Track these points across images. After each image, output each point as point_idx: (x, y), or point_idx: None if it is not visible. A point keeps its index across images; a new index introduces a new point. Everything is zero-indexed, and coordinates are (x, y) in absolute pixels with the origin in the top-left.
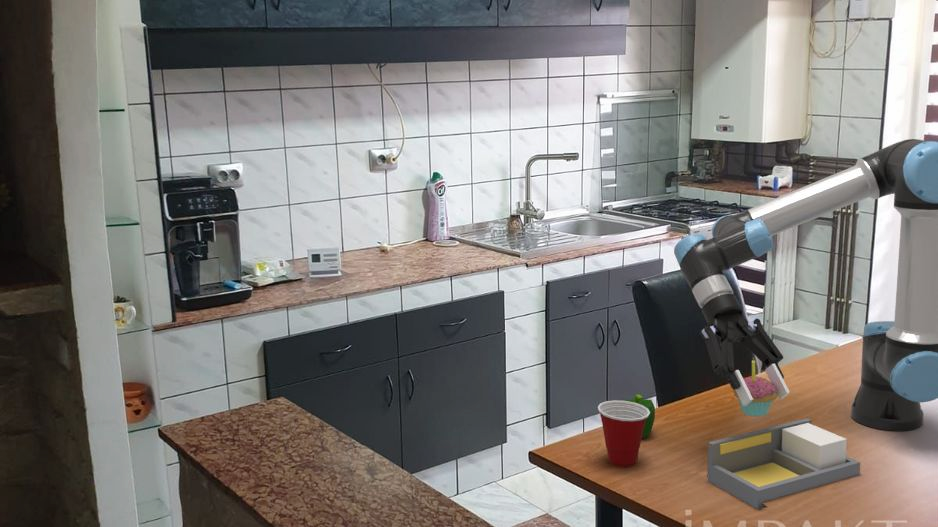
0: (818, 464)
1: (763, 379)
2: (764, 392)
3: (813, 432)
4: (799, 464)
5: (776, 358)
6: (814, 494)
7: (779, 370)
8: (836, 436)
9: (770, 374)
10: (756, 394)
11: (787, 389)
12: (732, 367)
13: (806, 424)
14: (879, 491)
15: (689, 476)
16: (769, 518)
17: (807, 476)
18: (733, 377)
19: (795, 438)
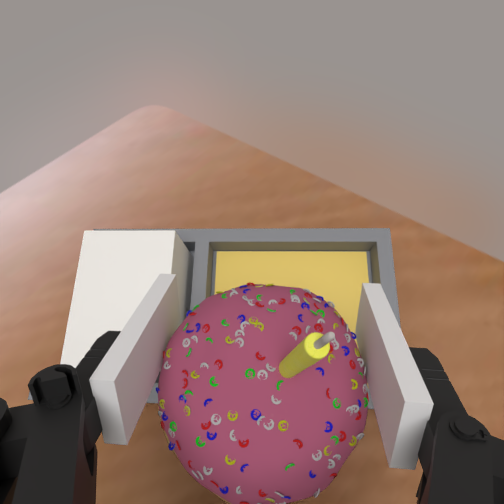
0: (186, 250)
1: (221, 360)
2: (287, 290)
3: (111, 304)
4: (206, 288)
5: (15, 428)
6: None
7: (89, 362)
8: (89, 254)
9: (139, 390)
10: (325, 303)
11: (159, 281)
12: (459, 427)
13: (74, 361)
14: (125, 195)
15: None
16: (380, 208)
17: (245, 231)
18: (442, 390)
19: None
